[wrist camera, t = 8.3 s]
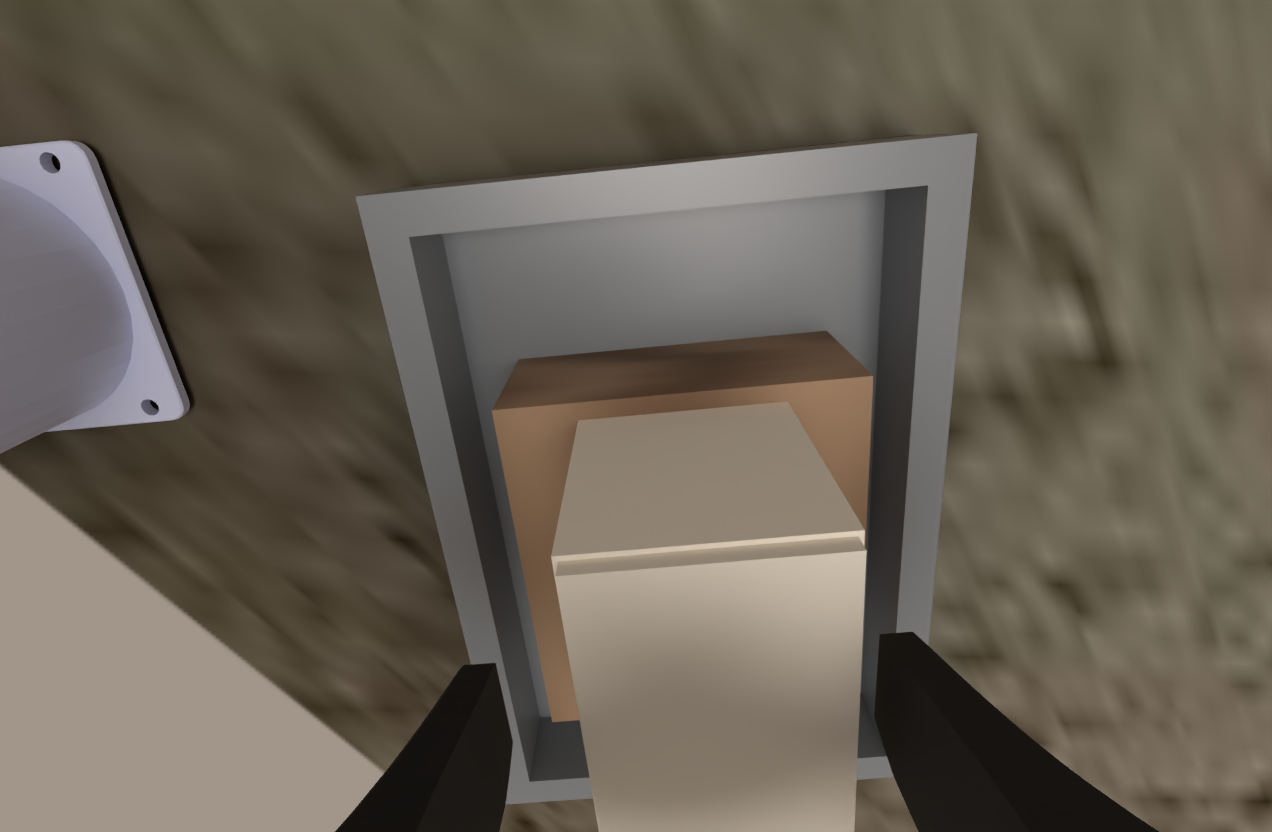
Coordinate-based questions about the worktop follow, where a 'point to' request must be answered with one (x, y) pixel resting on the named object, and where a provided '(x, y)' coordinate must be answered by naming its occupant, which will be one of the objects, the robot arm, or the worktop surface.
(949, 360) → the tote
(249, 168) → the worktop surface
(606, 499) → the cream lidded carton
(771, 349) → the walnut block
